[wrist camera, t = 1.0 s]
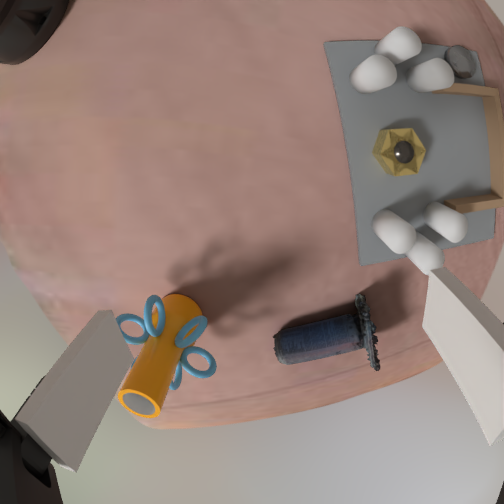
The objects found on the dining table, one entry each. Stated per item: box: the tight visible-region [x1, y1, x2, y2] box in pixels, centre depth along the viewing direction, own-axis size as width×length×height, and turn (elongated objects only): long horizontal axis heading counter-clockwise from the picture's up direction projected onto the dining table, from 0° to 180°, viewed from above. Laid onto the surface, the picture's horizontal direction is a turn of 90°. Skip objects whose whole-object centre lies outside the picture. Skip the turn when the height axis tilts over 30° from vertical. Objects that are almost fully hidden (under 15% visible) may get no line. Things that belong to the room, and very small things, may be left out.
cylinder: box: [116, 294, 217, 418], centre depth 28 cm, size 12×10×15 cm
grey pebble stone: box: [444, 45, 476, 79], centre depth 20 cm, size 4×4×1 cm
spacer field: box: [323, 27, 504, 275], centre depth 23 cm, size 24×20×6 cm
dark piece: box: [273, 294, 380, 372], centre depth 32 cm, size 9×8×12 cm
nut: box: [372, 128, 426, 176], centre depth 25 cm, size 4×5×2 cm
